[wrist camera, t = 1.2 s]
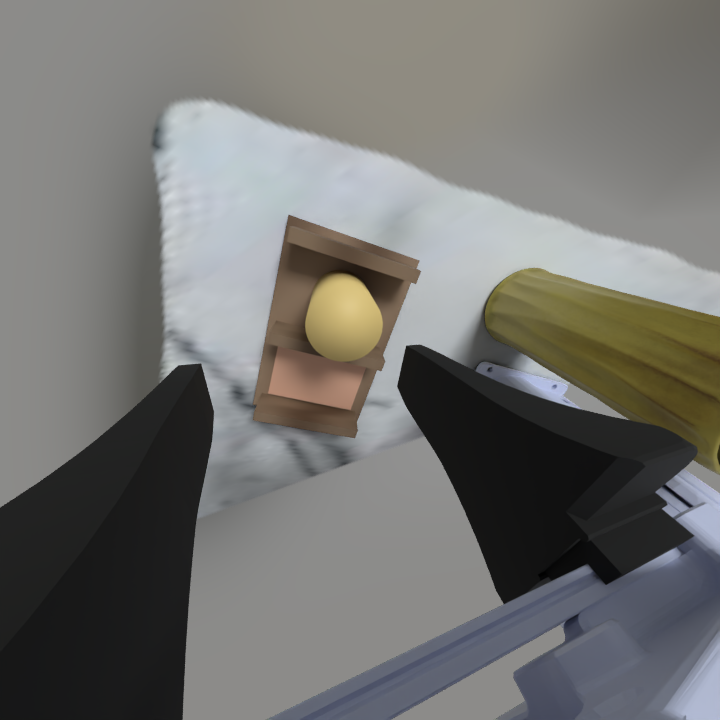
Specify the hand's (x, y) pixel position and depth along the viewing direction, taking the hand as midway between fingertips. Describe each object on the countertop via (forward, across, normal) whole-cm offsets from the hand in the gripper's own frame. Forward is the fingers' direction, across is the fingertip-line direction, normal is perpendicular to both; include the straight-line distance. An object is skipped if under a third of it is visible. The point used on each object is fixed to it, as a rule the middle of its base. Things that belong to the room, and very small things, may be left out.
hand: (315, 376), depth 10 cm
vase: (+7, -18, +1) cm, 19 cm away
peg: (+10, -4, +1) cm, 11 cm away
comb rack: (+10, -3, +4) cm, 11 cm away
